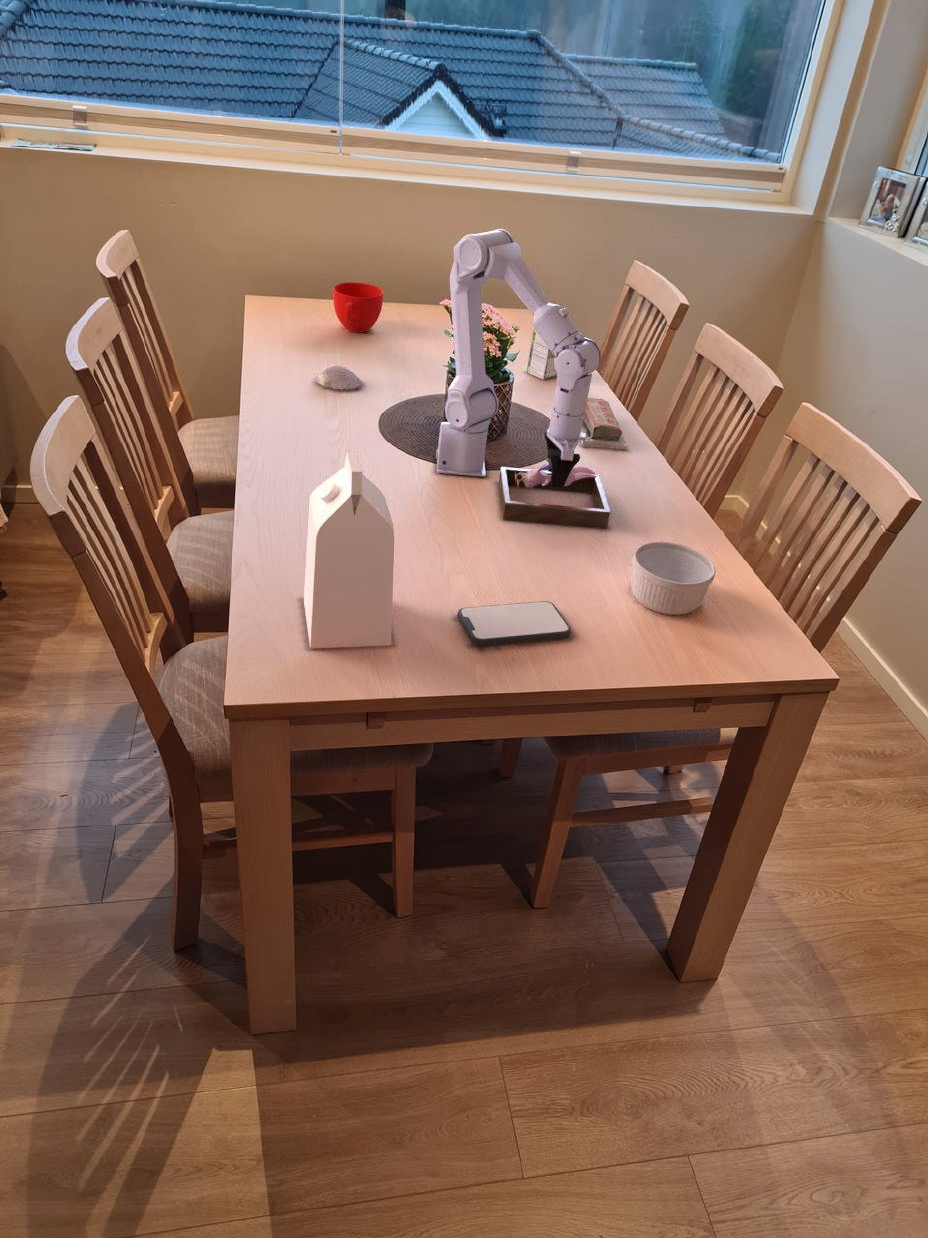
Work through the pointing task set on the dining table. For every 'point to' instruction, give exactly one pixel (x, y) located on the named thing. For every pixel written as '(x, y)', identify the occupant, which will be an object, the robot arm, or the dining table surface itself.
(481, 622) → the black smartphone
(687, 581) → the ramekin
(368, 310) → the ceramic cup
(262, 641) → the dining table surface
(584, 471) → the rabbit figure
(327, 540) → the milk
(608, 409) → the butter dish
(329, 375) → the seashell
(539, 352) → the syrup box
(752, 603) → the dining table surface
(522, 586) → the dining table surface
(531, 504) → the tray
